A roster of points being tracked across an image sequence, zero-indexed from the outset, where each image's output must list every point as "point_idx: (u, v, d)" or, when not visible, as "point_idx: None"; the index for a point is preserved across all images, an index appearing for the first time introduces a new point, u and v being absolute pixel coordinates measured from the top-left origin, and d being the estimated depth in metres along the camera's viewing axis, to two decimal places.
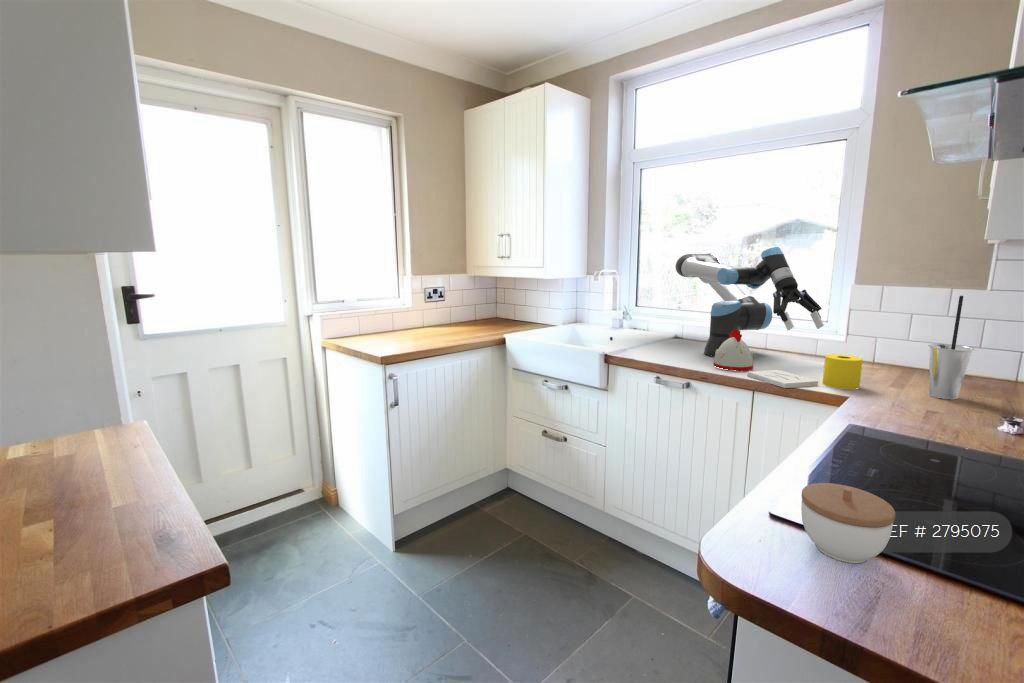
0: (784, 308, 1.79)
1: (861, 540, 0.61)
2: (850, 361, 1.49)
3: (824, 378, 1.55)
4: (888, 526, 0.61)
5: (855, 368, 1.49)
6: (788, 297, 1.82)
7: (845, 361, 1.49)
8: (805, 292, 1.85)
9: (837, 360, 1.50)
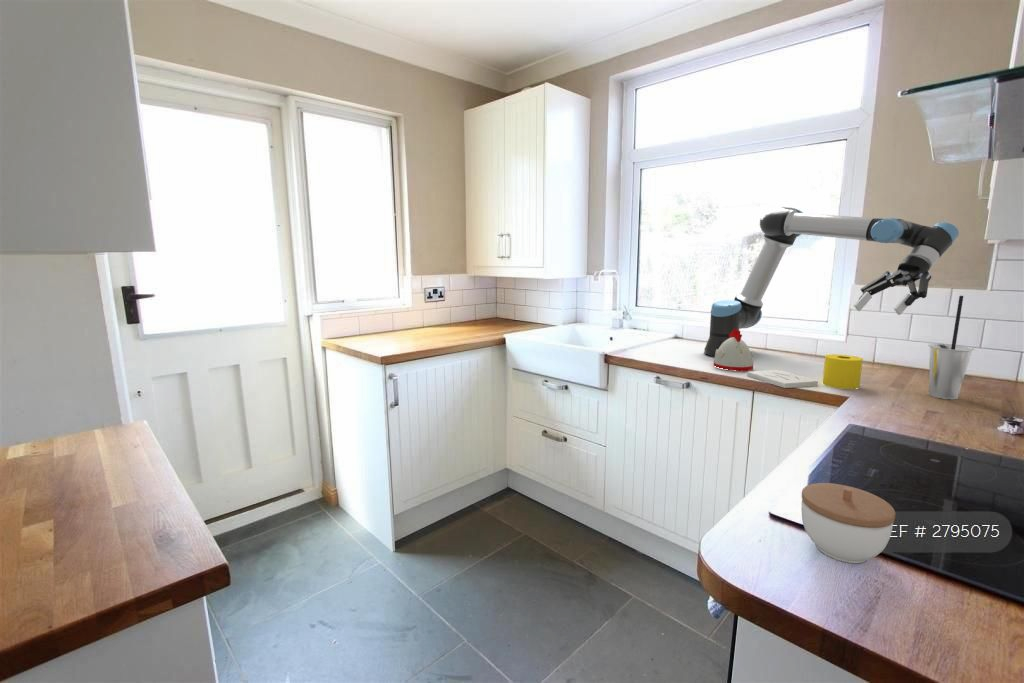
0: None
1: (861, 540, 0.61)
2: (850, 361, 1.49)
3: (824, 378, 1.55)
4: (888, 526, 0.61)
5: (855, 367, 1.49)
6: None
7: (845, 361, 1.49)
8: None
9: (837, 360, 1.50)
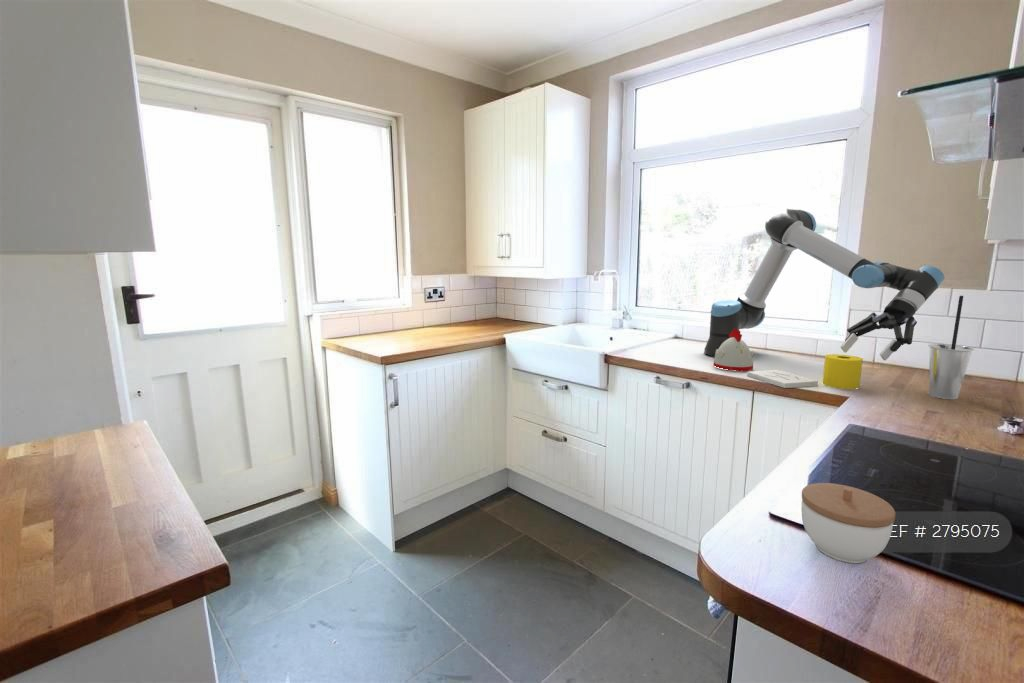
0: None
1: (861, 540, 0.61)
2: (850, 361, 1.49)
3: (824, 378, 1.55)
4: (888, 526, 0.61)
5: (855, 367, 1.49)
6: None
7: (845, 361, 1.49)
8: None
9: (837, 360, 1.50)
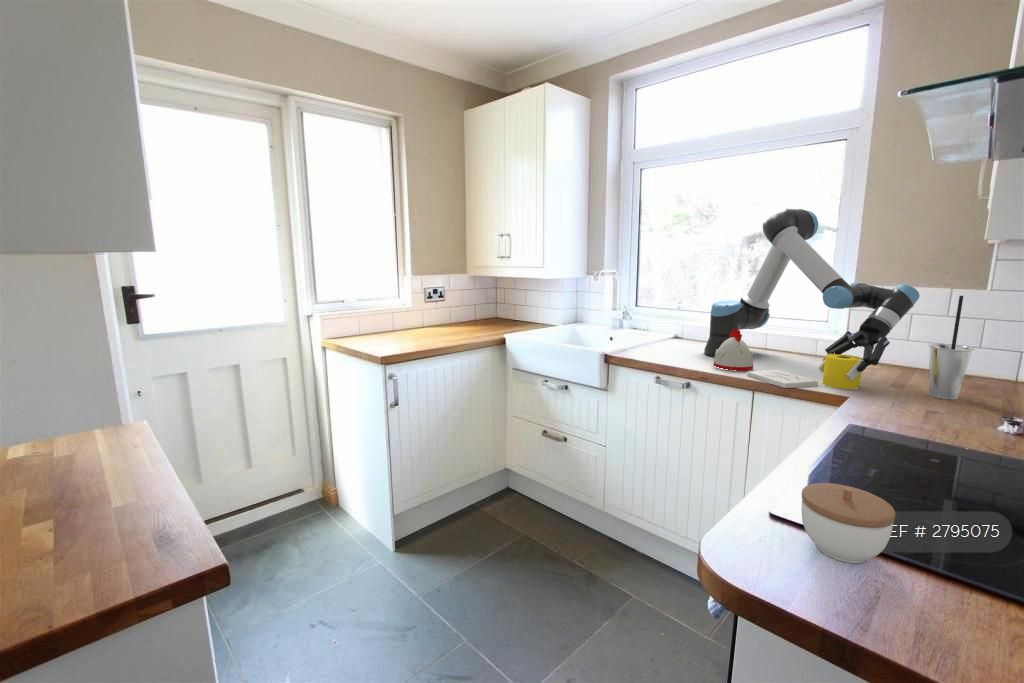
0: None
1: (861, 540, 0.61)
2: (850, 361, 1.49)
3: (824, 378, 1.55)
4: (888, 526, 0.61)
5: None
6: None
7: (845, 361, 1.49)
8: None
9: (837, 360, 1.50)
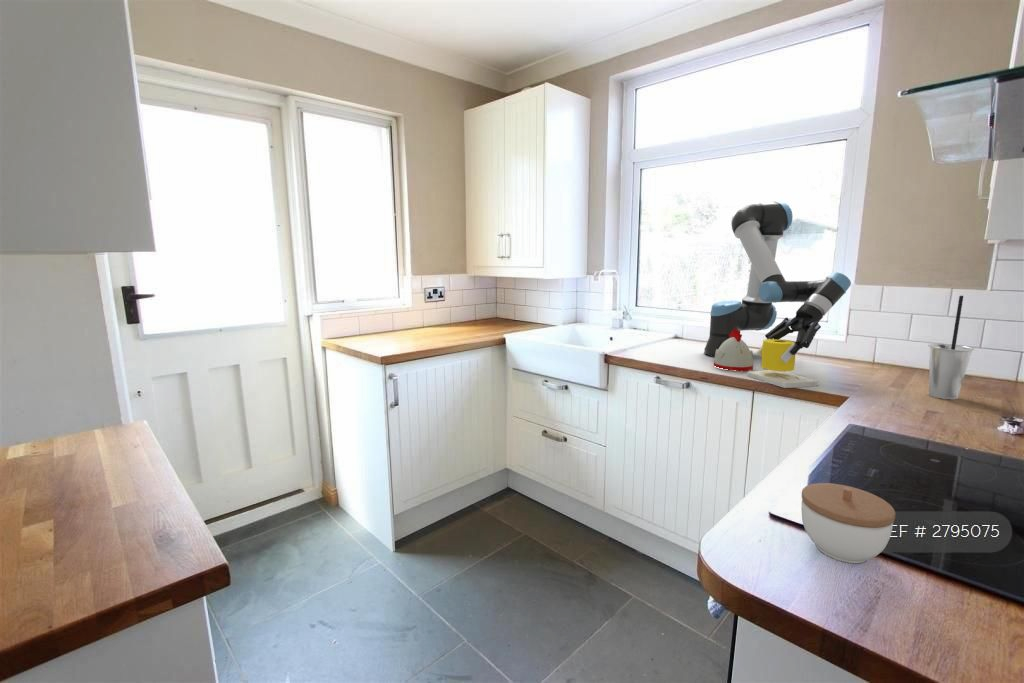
0: None
1: (861, 540, 0.61)
2: (784, 344, 1.56)
3: (762, 361, 1.63)
4: (888, 526, 0.61)
5: None
6: None
7: (779, 344, 1.57)
8: None
9: (772, 344, 1.58)
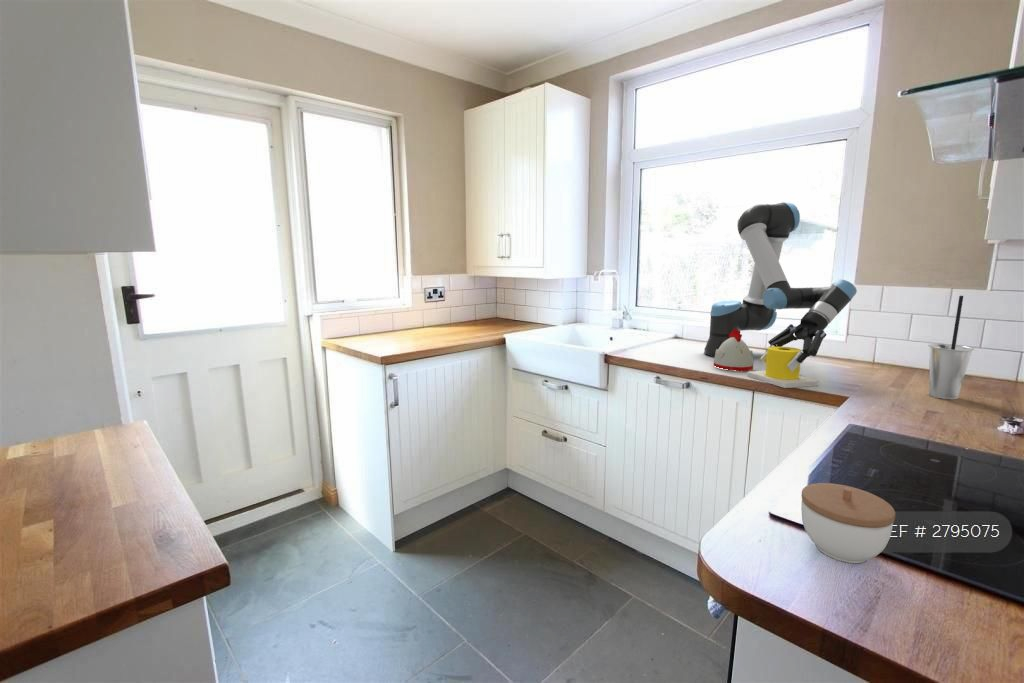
0: None
1: (861, 540, 0.61)
2: (788, 352, 1.55)
3: (766, 369, 1.62)
4: (888, 526, 0.61)
5: None
6: None
7: (784, 352, 1.55)
8: None
9: (777, 351, 1.57)
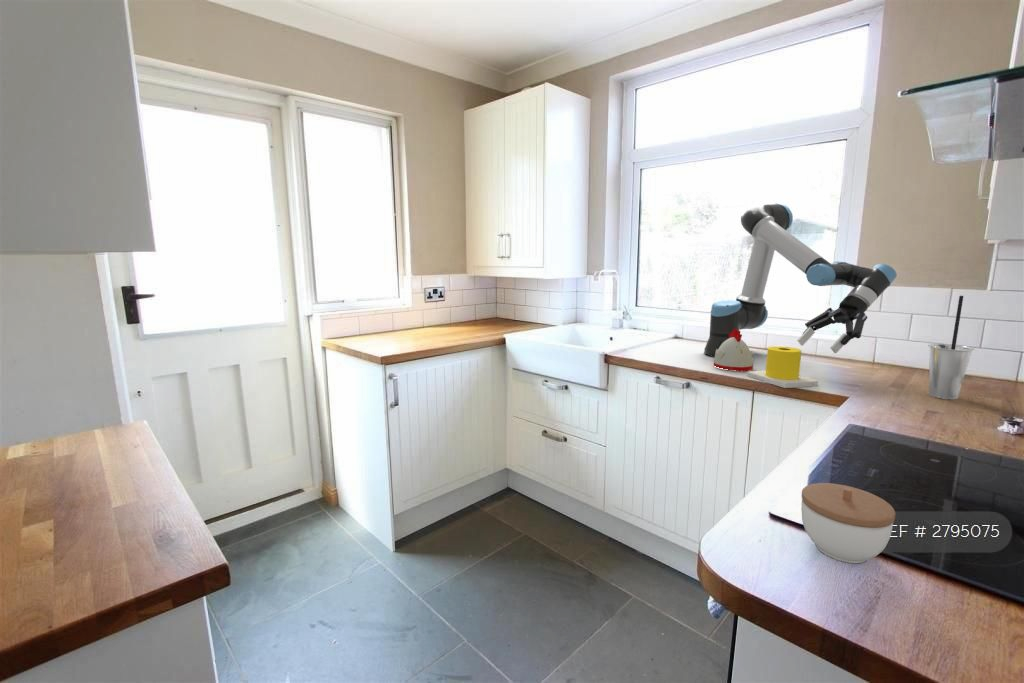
0: None
1: (861, 540, 0.61)
2: (788, 352, 1.55)
3: (766, 369, 1.62)
4: (888, 526, 0.61)
5: (793, 359, 1.55)
6: None
7: (784, 352, 1.55)
8: None
9: (777, 351, 1.57)
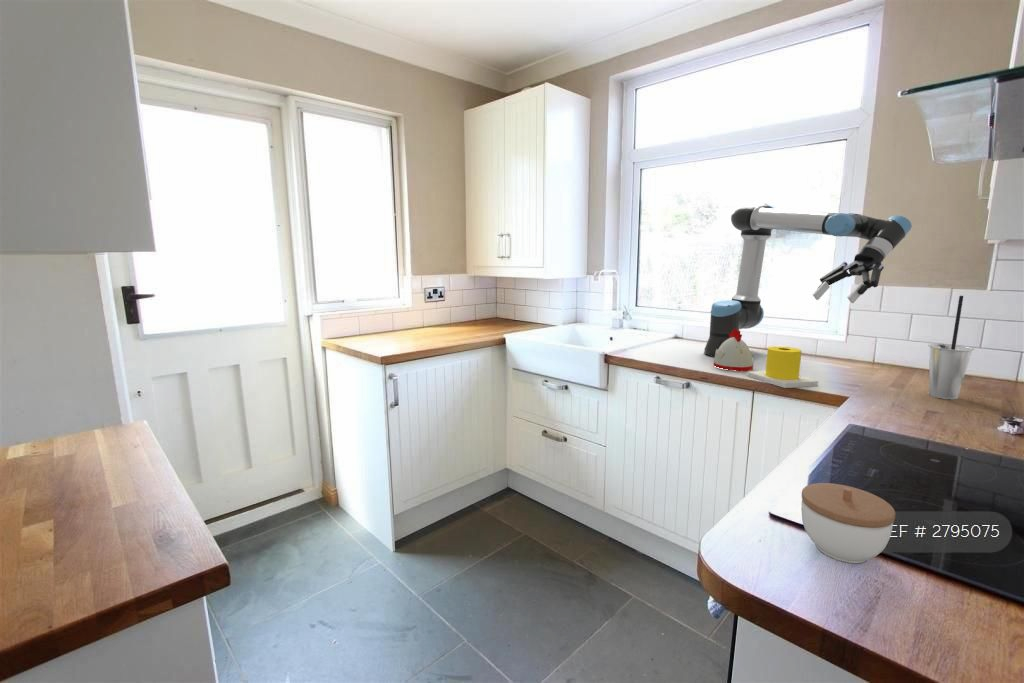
0: None
1: (861, 540, 0.61)
2: (788, 352, 1.55)
3: (766, 369, 1.62)
4: (888, 526, 0.61)
5: (793, 359, 1.55)
6: None
7: (784, 352, 1.55)
8: None
9: (777, 351, 1.57)
